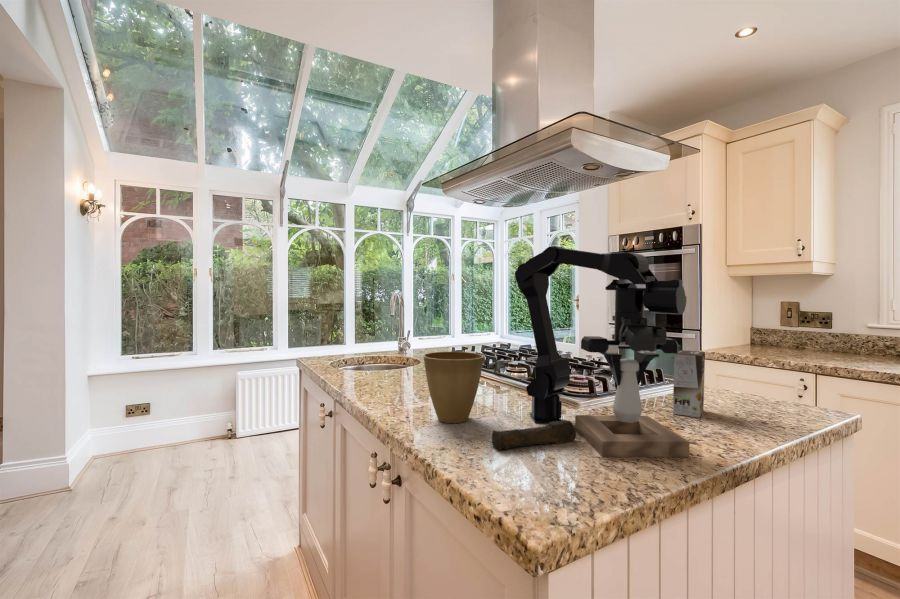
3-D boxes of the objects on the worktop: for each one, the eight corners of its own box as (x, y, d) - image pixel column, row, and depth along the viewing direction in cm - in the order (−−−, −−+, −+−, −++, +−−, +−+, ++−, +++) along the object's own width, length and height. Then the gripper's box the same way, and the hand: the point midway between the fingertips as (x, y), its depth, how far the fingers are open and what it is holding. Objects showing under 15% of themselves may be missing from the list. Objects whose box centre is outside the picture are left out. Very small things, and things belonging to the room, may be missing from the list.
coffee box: (700, 418, 107) (702, 355, 107) (672, 414, 111) (673, 353, 110) (704, 410, 114) (705, 351, 114) (677, 406, 118) (678, 349, 118)
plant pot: (493, 424, 101) (494, 357, 100) (434, 431, 95) (435, 361, 95) (468, 408, 115) (468, 349, 114) (415, 413, 109) (415, 351, 109)
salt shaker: (636, 416, 93) (638, 357, 92) (646, 424, 87) (647, 362, 87) (609, 415, 93) (610, 356, 93) (616, 423, 88) (618, 361, 87)
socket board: (602, 456, 82) (602, 441, 82) (575, 427, 99) (575, 415, 99) (689, 457, 82) (689, 441, 82) (647, 428, 99) (647, 415, 99)
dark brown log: (497, 454, 83) (498, 431, 83) (490, 447, 87) (490, 424, 87) (582, 446, 88) (582, 423, 88) (571, 439, 92) (572, 418, 92)
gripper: (599, 313, 82) (597, 393, 82) (695, 315, 82) (692, 395, 82) (580, 310, 93) (579, 381, 93) (665, 311, 93) (663, 382, 93)
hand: (627, 384), depth 90 cm, fingers closed on salt shaker, 4 cm apart
